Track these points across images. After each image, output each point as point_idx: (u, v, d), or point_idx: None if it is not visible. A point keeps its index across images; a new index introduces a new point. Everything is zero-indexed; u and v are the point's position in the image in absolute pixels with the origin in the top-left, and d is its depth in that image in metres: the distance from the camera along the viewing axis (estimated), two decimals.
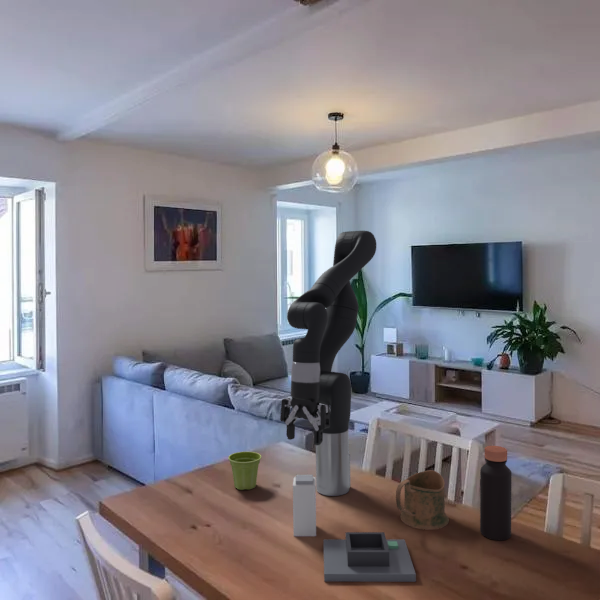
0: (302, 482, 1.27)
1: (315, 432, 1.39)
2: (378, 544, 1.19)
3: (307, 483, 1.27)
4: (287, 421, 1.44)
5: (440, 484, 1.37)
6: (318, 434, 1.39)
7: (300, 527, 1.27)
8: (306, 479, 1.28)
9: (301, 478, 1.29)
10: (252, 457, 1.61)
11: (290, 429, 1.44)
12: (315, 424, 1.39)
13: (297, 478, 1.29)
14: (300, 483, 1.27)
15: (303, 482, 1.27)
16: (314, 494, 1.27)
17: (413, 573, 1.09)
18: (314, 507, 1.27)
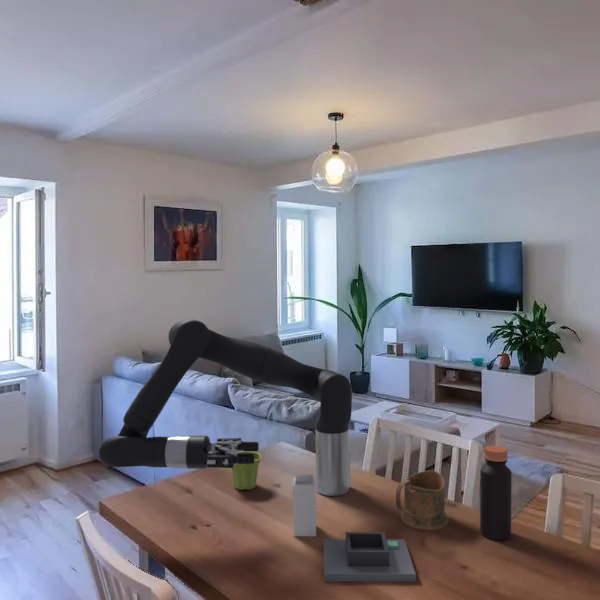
0: (302, 482, 1.27)
1: None
2: (378, 544, 1.19)
3: (307, 483, 1.27)
4: None
5: (440, 484, 1.37)
6: None
7: (300, 527, 1.27)
8: (306, 479, 1.28)
9: (301, 478, 1.29)
10: None
11: (247, 450, 1.33)
12: None
13: (297, 478, 1.29)
14: (300, 483, 1.27)
15: (303, 482, 1.27)
16: (314, 494, 1.27)
17: (413, 573, 1.09)
18: (314, 507, 1.27)
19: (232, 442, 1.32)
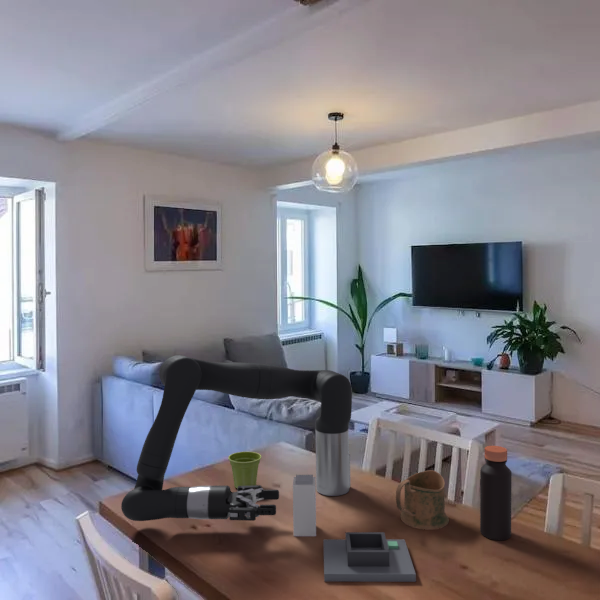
0: (302, 482, 1.27)
1: None
2: (378, 544, 1.19)
3: (307, 483, 1.27)
4: None
5: (440, 484, 1.37)
6: None
7: (300, 527, 1.27)
8: (306, 479, 1.28)
9: (301, 478, 1.29)
10: (252, 457, 1.61)
11: (267, 498, 1.34)
12: None
13: (297, 478, 1.29)
14: (300, 483, 1.27)
15: (303, 482, 1.27)
16: (314, 494, 1.27)
17: (413, 573, 1.09)
18: (314, 507, 1.27)
19: (253, 491, 1.33)
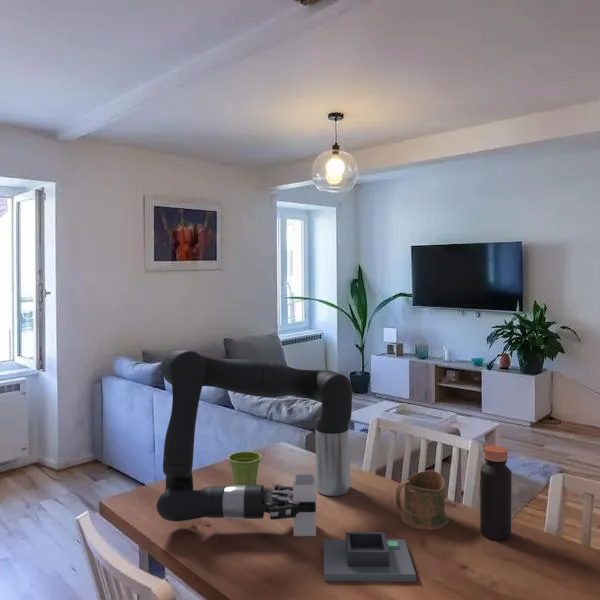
0: (302, 482, 1.27)
1: None
2: (378, 544, 1.19)
3: (307, 483, 1.27)
4: None
5: (440, 484, 1.37)
6: None
7: (300, 527, 1.27)
8: (306, 479, 1.28)
9: (301, 478, 1.29)
10: (252, 457, 1.61)
11: None
12: None
13: (297, 478, 1.29)
14: (300, 483, 1.27)
15: (303, 482, 1.27)
16: (314, 494, 1.27)
17: (413, 573, 1.09)
18: None
19: (288, 492, 1.32)
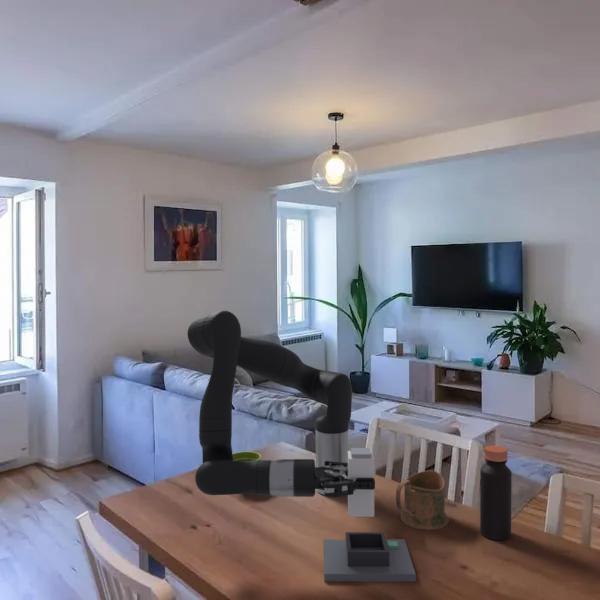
0: (359, 455, 1.13)
1: None
2: (378, 544, 1.19)
3: (365, 457, 1.13)
4: None
5: (440, 484, 1.37)
6: None
7: (356, 506, 1.13)
8: (363, 452, 1.14)
9: (357, 451, 1.14)
10: (252, 457, 1.61)
11: None
12: None
13: (353, 451, 1.14)
14: (357, 456, 1.13)
15: (360, 455, 1.13)
16: (373, 469, 1.12)
17: (413, 573, 1.09)
18: None
19: (341, 467, 1.17)
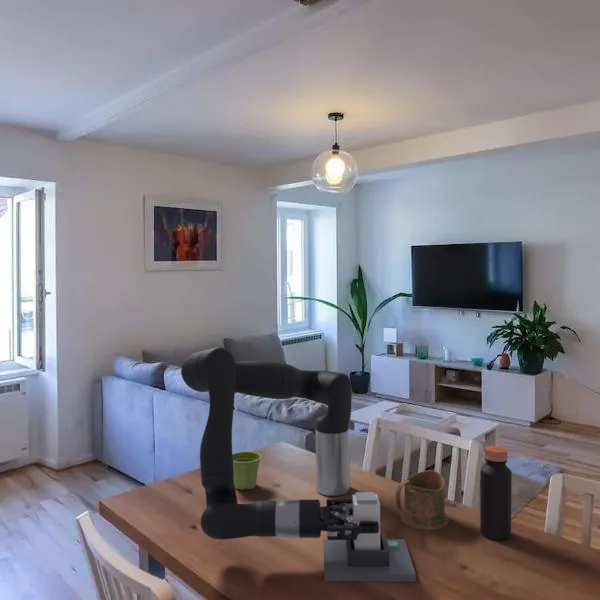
0: (365, 501, 1.13)
1: None
2: None
3: (370, 502, 1.13)
4: None
5: (440, 484, 1.37)
6: None
7: None
8: (369, 498, 1.14)
9: (362, 496, 1.14)
10: (252, 457, 1.61)
11: None
12: None
13: (358, 496, 1.14)
14: (362, 502, 1.13)
15: (366, 501, 1.13)
16: (378, 515, 1.12)
17: (413, 573, 1.09)
18: None
19: (346, 506, 1.18)
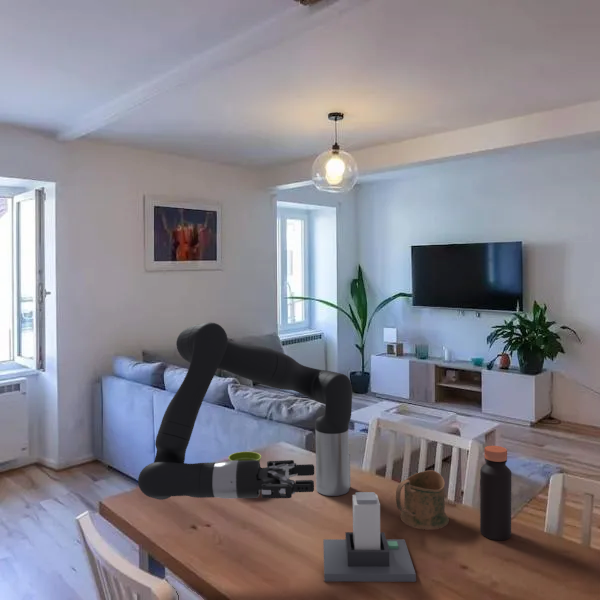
0: (365, 501, 1.13)
1: None
2: None
3: (370, 502, 1.13)
4: None
5: (440, 484, 1.37)
6: None
7: None
8: (369, 498, 1.14)
9: (362, 496, 1.14)
10: (252, 457, 1.61)
11: (301, 474, 1.19)
12: None
13: (358, 496, 1.14)
14: (362, 502, 1.13)
15: (366, 501, 1.13)
16: (378, 515, 1.12)
17: (413, 573, 1.09)
18: (378, 529, 1.12)
19: (285, 466, 1.18)
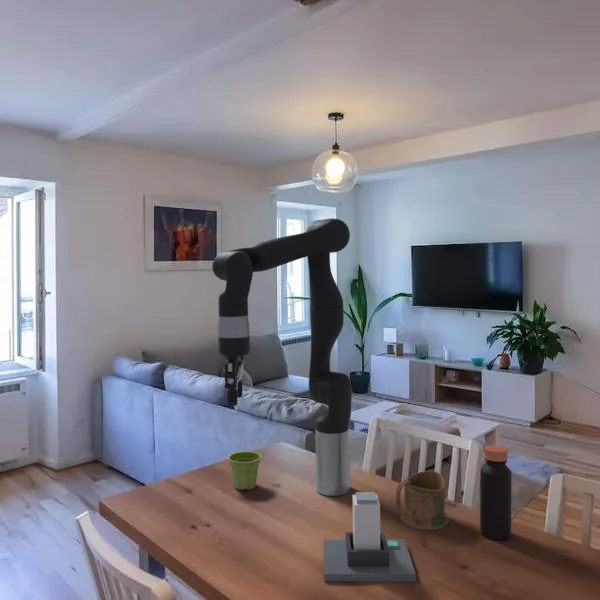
0: (365, 501, 1.13)
1: None
2: None
3: (370, 502, 1.13)
4: None
5: (440, 484, 1.37)
6: (229, 394, 1.28)
7: None
8: (369, 498, 1.14)
9: (362, 496, 1.14)
10: (252, 457, 1.61)
11: None
12: None
13: (358, 496, 1.14)
14: (362, 502, 1.13)
15: (366, 501, 1.13)
16: (378, 515, 1.12)
17: (413, 573, 1.09)
18: (378, 529, 1.12)
19: (242, 374, 1.36)
